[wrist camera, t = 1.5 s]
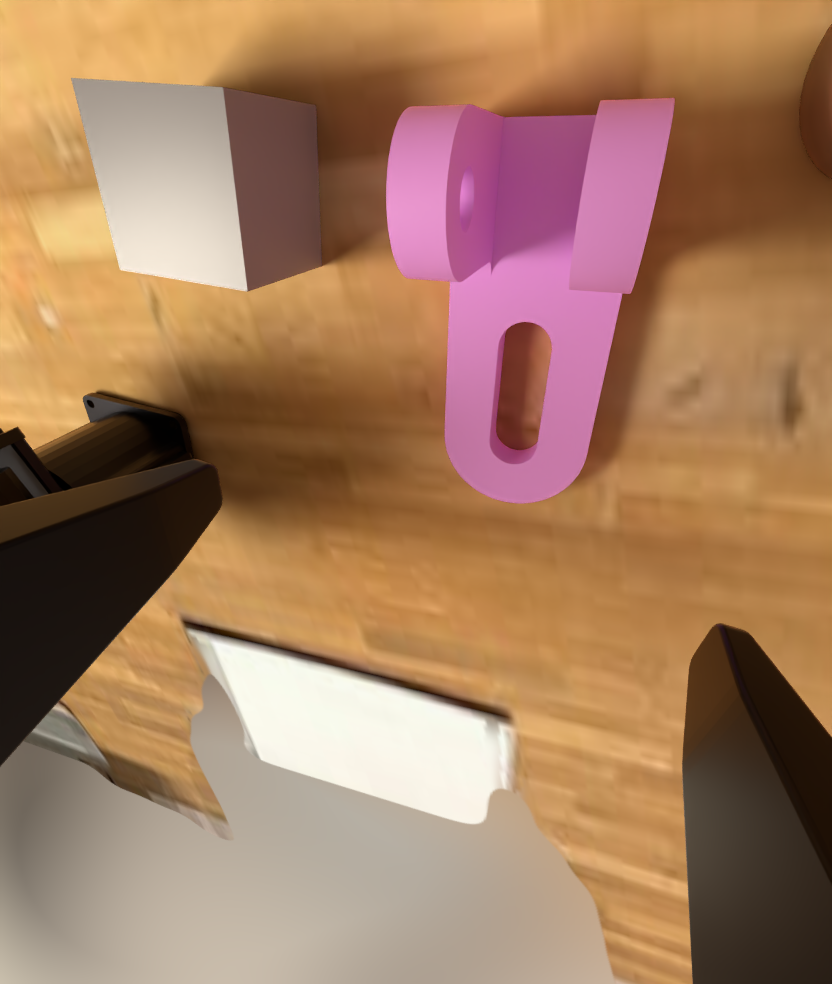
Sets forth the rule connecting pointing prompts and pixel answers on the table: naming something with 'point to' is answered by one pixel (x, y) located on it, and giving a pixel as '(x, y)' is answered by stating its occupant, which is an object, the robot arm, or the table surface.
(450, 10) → the table surface
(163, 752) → the table surface
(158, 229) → the grey cube
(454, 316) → the bracket
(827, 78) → the walnut cylinder
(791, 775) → the robot arm
